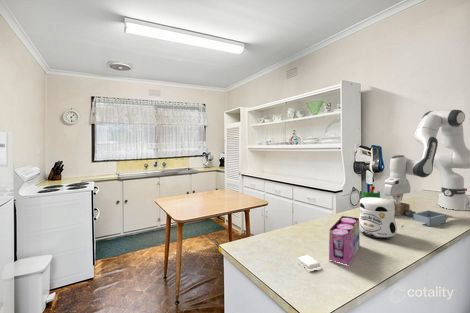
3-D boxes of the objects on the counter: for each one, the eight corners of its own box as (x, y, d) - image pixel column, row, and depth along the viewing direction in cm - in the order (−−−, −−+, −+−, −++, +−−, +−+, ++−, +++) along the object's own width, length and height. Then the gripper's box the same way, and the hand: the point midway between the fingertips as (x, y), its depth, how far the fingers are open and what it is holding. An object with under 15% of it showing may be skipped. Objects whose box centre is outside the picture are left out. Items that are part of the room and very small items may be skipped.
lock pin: (396, 211, 155) (396, 193, 154) (402, 212, 151) (402, 194, 151) (392, 212, 153) (392, 194, 153) (398, 213, 150) (398, 195, 149)
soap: (295, 262, 97) (295, 256, 97) (308, 259, 100) (308, 252, 99) (309, 273, 89) (308, 266, 89) (323, 269, 91) (323, 262, 91)
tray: (428, 218, 143) (428, 210, 143) (446, 222, 135) (446, 214, 135) (412, 222, 138) (412, 213, 138) (430, 227, 130) (430, 218, 129)
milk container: (360, 238, 118) (360, 203, 117) (356, 227, 134) (356, 196, 133) (401, 243, 111) (401, 206, 110) (391, 230, 127) (391, 197, 126)
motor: (376, 213, 157) (376, 184, 156) (383, 217, 148) (383, 186, 147) (360, 213, 158) (360, 184, 157) (366, 217, 149) (366, 186, 148)
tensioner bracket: (396, 211, 159) (396, 200, 159) (422, 218, 144) (422, 206, 144) (384, 213, 155) (384, 202, 154) (409, 221, 140) (409, 208, 140)
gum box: (348, 268, 91) (348, 234, 90) (327, 262, 96) (327, 230, 95) (360, 246, 110) (359, 218, 109) (342, 242, 115) (341, 215, 114)
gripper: (403, 178, 158) (403, 198, 159) (382, 180, 150) (382, 201, 151) (413, 179, 152) (413, 200, 153) (392, 182, 144) (392, 204, 145)
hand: (397, 201), depth 152 cm, fingers closed on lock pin, 3 cm apart
